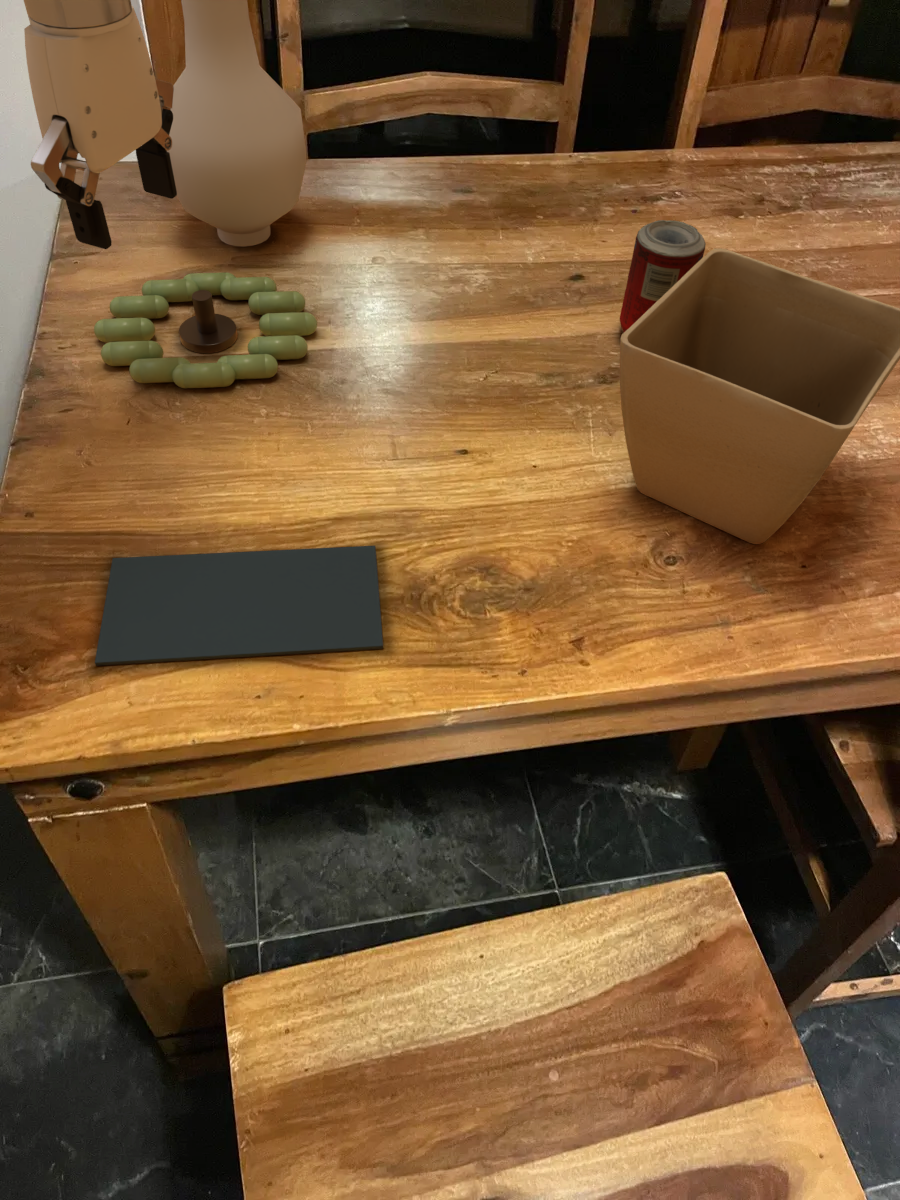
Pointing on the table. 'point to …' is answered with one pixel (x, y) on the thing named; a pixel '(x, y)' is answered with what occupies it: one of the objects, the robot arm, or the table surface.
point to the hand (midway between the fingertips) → (129, 218)
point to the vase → (232, 128)
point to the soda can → (658, 265)
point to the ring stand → (207, 327)
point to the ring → (280, 343)
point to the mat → (240, 605)
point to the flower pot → (748, 388)
